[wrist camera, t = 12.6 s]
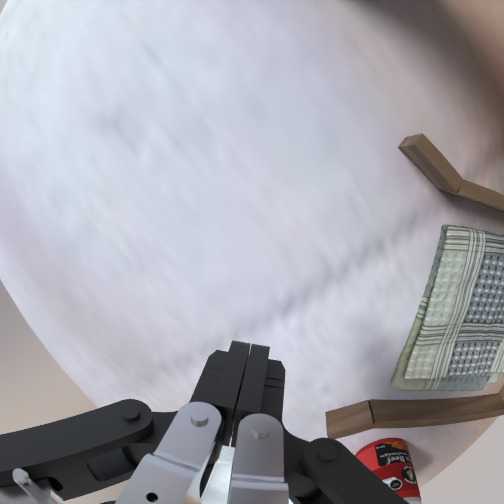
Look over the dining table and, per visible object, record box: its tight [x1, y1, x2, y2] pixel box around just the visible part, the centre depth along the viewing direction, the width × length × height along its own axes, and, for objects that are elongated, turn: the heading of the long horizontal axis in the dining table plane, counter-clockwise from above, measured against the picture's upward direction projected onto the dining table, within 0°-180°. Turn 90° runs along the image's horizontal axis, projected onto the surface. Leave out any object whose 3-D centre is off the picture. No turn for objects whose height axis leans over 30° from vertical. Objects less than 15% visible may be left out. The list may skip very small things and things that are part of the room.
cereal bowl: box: [202, 438, 293, 504], centre depth 30 cm, size 17×17×7 cm
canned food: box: [355, 438, 421, 504], centre depth 25 cm, size 8×8×11 cm
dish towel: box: [391, 225, 504, 391], centre depth 23 cm, size 19×18×3 cm
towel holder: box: [326, 133, 504, 439], centre depth 22 cm, size 30×28×4 cm
